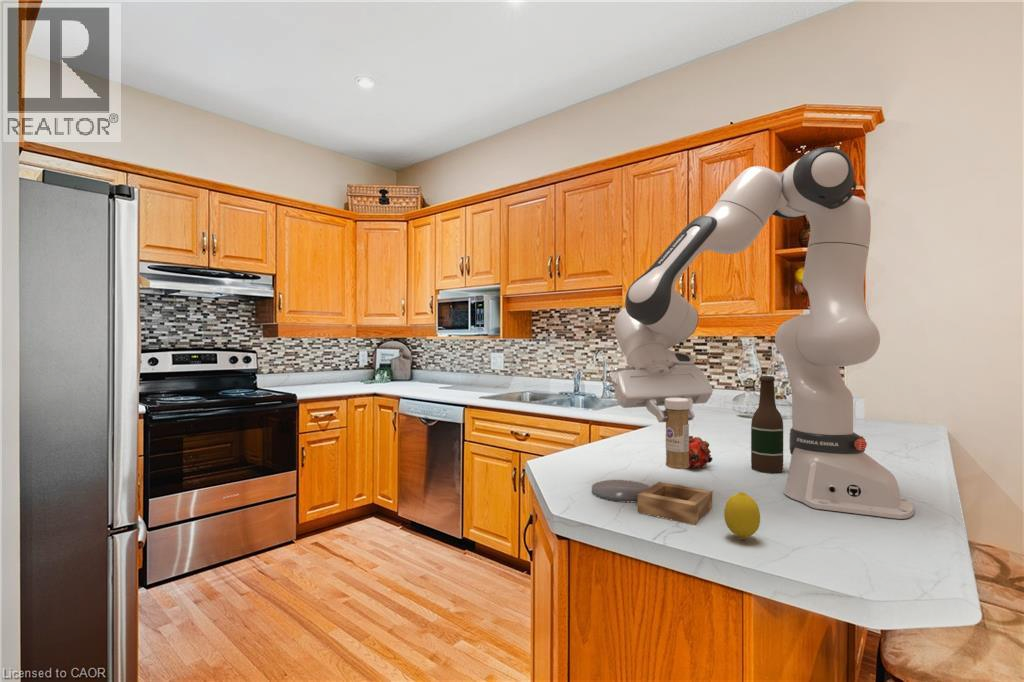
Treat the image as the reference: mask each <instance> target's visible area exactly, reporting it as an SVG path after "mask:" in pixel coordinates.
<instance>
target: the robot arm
mask: <svg viewBox="0 0 1024 682" xmlns="http://www.w3.org/2000/svg"><path fill="white" fill-rule="evenodd" d="M854 174H855V173H854V165H853V163H852V161H851V159H850V158H849V156H848V155H847V153H845V152H844V151H843V150H842V149H840V148H837V147H832V146H826V147H819V148H816V149H814V150H813V149H812V150H810V151H808V152H806V153H805V154H804V155H802V156H801V157H800V158H798V159H797V160H795V161H794V162H792V163H791V164H790V165H788V166H787V168H785V169H784V170H783V171H782V172H777V171H774V170H773V169H771V168H768V167H766V166H761V165H755V166H754V165H753V166H750V167H748V168H746V169H744V170H743V171H742V172H741V173H739V174H738V176H737V177H736V178H734V180H733V181H732V182H731V183H730V184H729V185H728V187H726V189H725V190H724V192H723V193H722V195H721V196H720V197H719V198H718V199H717V201H716V203H715V204H714V206H713V207H712V208H711V210H710V211H709V212H707V213H706V214H705V215H699V216H697V217H696V218H694V219H693V220H692V221H691V222H689V223H688V224H687V225H686V226H685V227H684V228H683V229H682V230H681V231H680V232H679V234H677V236H676V237H675V238H674V239H673V240H672V241H671V242H670V244H669V245H668V246H667V247H666V249H665V250H664V251H663V252H662V253H660V256H659V257H658V258H656V260H655V261H654V262H653V264H652V265H650V267H649V268H648V269H647V270H646V271H645V272H644V273H642V274H641V275H640V276H639V277H638V278H637V279H635V280H634V281H633V283H632V284H631V285H630V286H629V287H628V289H627V292H626V295H625V301H624V302H625V303H624V306H625V307H624V308H622V309H621V310H620V311H619V312H618V313H617V314H616V316H615V318H614V322H613V323H614V324H613V329H614V333H615V338H616V340H617V344H618V346H619V348H620V350H621V352H622V354H623V355H624V356H625V357H626V363H627V364H626V365H627V366H628V367H623V368H620V367H615V368H613V369H612V370H611V371H610V372H609V373H608V378H609V380H610V382H611V384H613V389H614V390H613V391H614V394H615V398H616V401H617V404H618V405H619V406H620V407H622V408H623V409H631V408H644V407H645V408H646V409H647V411H648V412H650V414H651V415H653V416H655V417H656V420H657V422H658V423H666V422H667V420H668V415H667V412H666V410H665V409H664V410H662V409H661V408H660V406H662V407H663V406H664V407H665V399H666V398H686V399H688V400H689V409H688V410H689V411H688V422H689V421H693V420H694V418H695V414H694V411H693V410H692V409H693V404H694V405H695V404H696V405H697V404H706V403H708V401H709V399H710V398H711V396H712V395H713V391H714V390H713V387H712V384H711V382H710V381H709V380H708V377H707V376H706V375H705V373H704V372H703V371H702V369H701V368H700V367H698V366H696V365H694V364H695V361H696V360H695V359H694V356H693V355H690V354H685V353H681V352H677V351H673V350H671V349H670V348H672V347H674V346H676V345H678V344H680V343H682V342H684V341H685V340H687V339H688V338H690V337H691V336H692V335H693V333H694V332H695V331H696V329H697V326H698V324H699V313H698V311H697V309H696V308H695V307H694V306H693V305H692V304H691V303H690V302H689V301H688V300H687V299H686V298H685V297H684V296H682V295H681V294H680V293H679V292H678V291H677V290H676V289H675V288H676V287H675V286H676V283H677V281H678V279H679V278H680V277H681V276H682V275H683V274H684V273H685V271H687V269H688V268H689V266H690V265H691V264H692V263H693V262H694V260H696V258H697V257H698V256H699V255H701V254H702V253H704V252H707V251H711V252H714V253H719V254H723V255H732V254H738V253H741V252H743V251H745V250H747V249H748V248H749V246H751V245H752V244H753V242H755V240H756V239H757V237H758V236H759V234H760V233H761V231H762V230H763V228H764V226H765V225H767V223H768V220H769V218H771V216H775V217H777V218H779V219H785V220H796V219H799V218H800V219H801V218H804V217H805V216H806V217H807V220H808V223H809V229H810V235H809V239H808V243H807V249H806V255H805V261H804V265H803V266H804V267H803V271H802V273H803V274H802V279H801V281H802V286H803V287H804V289H805V290H806V291H807V295H808V300H809V314H800V315H797V316H794V317H792V318H790V319H788V320H786V321H784V322H783V323H781V324H780V325H779V327H778V328H777V330H776V332H775V335H774V344H775V347H776V349H777V350H778V352H779V353H780V355H781V356H782V358H783V361H784V364H785V368H786V371H787V376H788V379H789V384H790V390H791V397H792V398H791V399H792V401H791V402H792V404H791V405H792V406H791V407H792V408H791V409H792V418H791V419H792V427H791V428H790V429H789V430H790V431H789V438H788V439H789V442H788V443H789V451H790V452H789V453H790V455H791V456H790V463H789V464H790V465H789V471H788V476H787V480H786V483H785V486H784V490H783V494H784V495H786V496H787V497H788V498H791V499H792V500H795V501H798V502H801V503H803V504H805V505H806V506H808V507H810V508H813V509H817V510H825V511H834V512H840V513H841V512H842V513H848V514H850V513H851V514H857V515H865V516H873V517H874V516H875V517H879V518H881V517H882V518H889V519H898V520H903V519H908V518H911V517H912V516H913V515H914V514H915V508H914V504H913V502H912V501H910V500H909V499H907V498H906V497H904V496H901V492H900V487H899V484H898V481H897V479H896V477H895V476H894V474H893V473H892V472H891V471H890V470H888V468H886V467H885V466H883V465H882V464H880V463H879V462H878V461H876V460H875V459H874V458H872V457H871V456H870V455H868V454H867V453H866V452H865V451H866V448H867V446H868V443H867V441H866V439H865V438H864V436H863V435H861V436H860V434H857V433H856V432H854V396H853V393H852V391H851V390H850V389H849V388H848V387H847V385H846V383H845V382H844V379H843V377H842V374H841V370H840V368H842V367H850V366H854V365H859V364H863V363H866V362H868V361H870V359H871V358H873V357H874V356H875V354H877V351H878V349H879V347H880V341H881V336H880V331H879V329H878V326H877V325H876V323H874V321H872V320H871V318H870V316H869V314H868V310H867V306H866V301H865V290H864V287H865V276H866V269H867V263H868V256H869V249H870V242H871V232H872V223H871V222H872V220H871V219H872V218H871V207H870V205H869V203H868V202H867V201H866V200H865V199H864V198H861V197H860V196H856V195H854V194H855V192H856V190H857V183H856V181H855V175H854Z"/></svg>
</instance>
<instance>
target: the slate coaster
mask: <svg viewBox="0 0 1024 682" xmlns="http://www.w3.org/2000/svg"><path fill="white" fill-rule="evenodd" d="M649 487H650V485H648V484H645V483H642V482H638V481H633V480H626V479H625V480H624V479H606V480H600V481H597V482H595V483H593V484H591V493H592V495H593V496H595V495H596V496H595V497H596V498H599V497H600V499H602V498H603V499H602V500H605V499H608V500H607V501H610V500H613V501H612V502H617V501H625V502H624V503H631V502H630V501H638V494H639V493H641V492H643V491H644V490H646V489H648V488H649ZM627 501H629V502H627Z"/></svg>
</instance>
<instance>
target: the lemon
mask: <svg viewBox="0 0 1024 682" xmlns="http://www.w3.org/2000/svg"><path fill="white" fill-rule="evenodd" d="M723 511H724V514H723V516H724V522H725V525H726V526H727V528H728V530H729V531H730V532H731V533H733V534H734V535H736V536H737V537H738V538H739V539H740V540H745V539H746V538H747V537H751V536H752V535H754V534H756V532H758V530H759V527H760V523H761V512H760V508H759V505H758V503H757V502H756V501H755V499H754V498H753V497H752V496H750V495H748V494H746V493H745V492H744V491H740V492H738V493H736V494H735V493H734V494H732V495H731V496H730V497H729V498H728V499H727V500H726V503H725V507H724V510H723Z"/></svg>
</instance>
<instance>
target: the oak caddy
mask: <svg viewBox="0 0 1024 682" xmlns="http://www.w3.org/2000/svg"><path fill="white" fill-rule="evenodd" d="M713 492H714V491H713V490H708V489H703V488H696V487H691V486H685V485H681V484H680V485H679V484H673V483H668V482H663V481H657V482H656V483H654V484H653V485H651V486H649V488H648V489H646V490H644V491H643V492H641V493H639V494H638V502H637V513H638V512H641V513H640V514H642V513H645V514H644V515H647V514H649V515H648V516H652V515H654V516H653V517H656V516H659V517H658V518H661V517H664V518H663V519H665V518H667V519H666V520H670V519H672V521H675V520H676V521H675V522H679V523H684V522H685V523H684V524H689V525H693V524H694V525H696V524H697V523H698V522H699V520H700V519H701V518H702V517H703V516H704V515H705V514H706V513H707V514H709V513H710V512H711V511H712V510H711V509H712V508H713V500H714V499H713V498H714V497H713ZM707 514H706V515H707ZM706 515H705V516H706ZM705 516H704V517H705ZM704 517H703V518H704ZM703 518H702V519H703ZM700 521H701V520H700Z"/></svg>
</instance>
